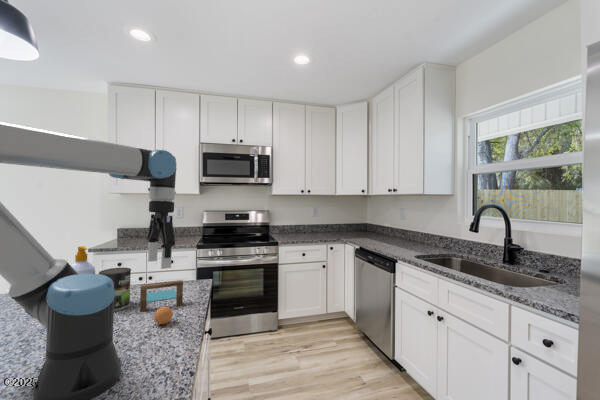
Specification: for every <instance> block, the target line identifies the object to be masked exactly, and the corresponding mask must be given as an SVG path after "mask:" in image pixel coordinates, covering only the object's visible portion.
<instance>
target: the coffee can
mask: <svg viewBox="0 0 600 400" xmlns="http://www.w3.org/2000/svg"><path fill="white" fill-rule="evenodd" d="M131 271H132V268H129V267H113V268H106V269H103V270H100V271H99V272H98V274H101V275H105V276H107V277H109V278H111V279H112V281H113V283H114V291H115V297H114V312H117V311H122V310H124V309H126V308H129V306H130V305H131Z"/></svg>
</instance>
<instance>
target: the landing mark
mask: <svg viewBox="0 0 600 400" xmlns="http://www.w3.org/2000/svg"><path fill="white" fill-rule="evenodd" d="M176 293H177V291H176V290H175V288H174V289H168V290H167V289H166V290H159V291H153V292H151V291H150V292H147V301H146V303H151V302H157V301H167V300H171V299H176Z"/></svg>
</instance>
